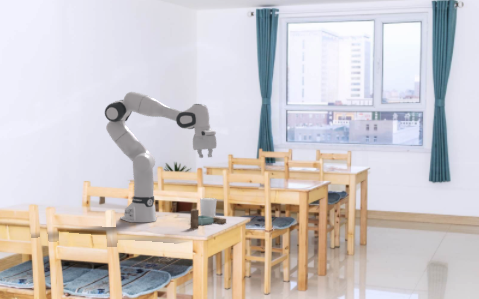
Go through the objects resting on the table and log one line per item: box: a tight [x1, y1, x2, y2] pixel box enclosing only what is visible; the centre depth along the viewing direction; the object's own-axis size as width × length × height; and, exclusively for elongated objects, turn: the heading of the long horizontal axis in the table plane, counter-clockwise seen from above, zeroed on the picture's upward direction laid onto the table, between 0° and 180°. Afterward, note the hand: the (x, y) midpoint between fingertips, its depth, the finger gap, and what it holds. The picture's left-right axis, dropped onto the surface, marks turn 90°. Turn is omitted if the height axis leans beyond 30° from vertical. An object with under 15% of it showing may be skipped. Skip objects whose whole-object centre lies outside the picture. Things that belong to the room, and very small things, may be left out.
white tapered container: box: [199, 197, 217, 217], centre depth 356 cm, size 10×10×12 cm
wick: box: [213, 216, 227, 225], centre depth 344 cm, size 10×3×3 cm, turn 42°
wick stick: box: [190, 209, 200, 230], centre depth 324 cm, size 3×3×10 cm
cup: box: [198, 215, 214, 226], centre depth 340 cm, size 9×9×4 cm
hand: (205, 157), depth 334 cm, fingers open, 8 cm apart
